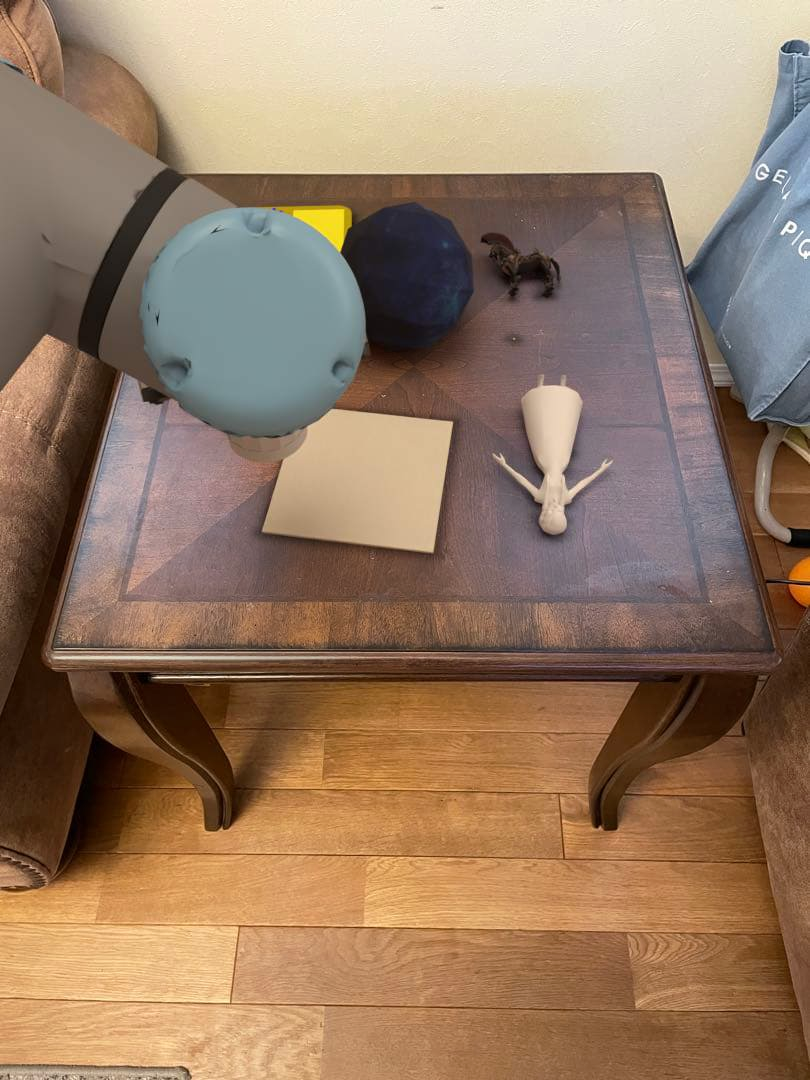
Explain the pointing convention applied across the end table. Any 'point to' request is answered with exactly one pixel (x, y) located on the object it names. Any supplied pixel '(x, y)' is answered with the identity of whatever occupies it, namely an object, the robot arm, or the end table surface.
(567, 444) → the woman figurine
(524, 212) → the end table surface
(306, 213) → the game console
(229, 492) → the end table surface
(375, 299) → the decorative orb
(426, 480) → the napkin
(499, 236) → the horse figurine
